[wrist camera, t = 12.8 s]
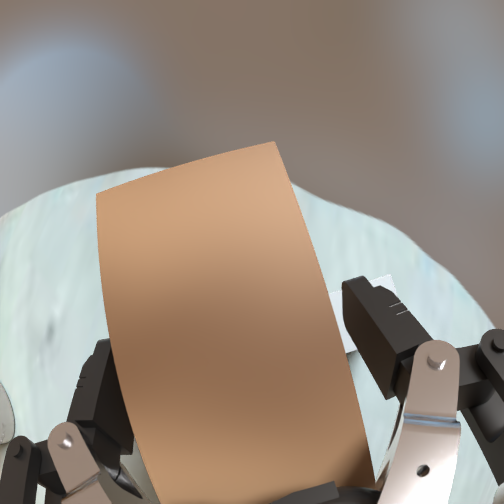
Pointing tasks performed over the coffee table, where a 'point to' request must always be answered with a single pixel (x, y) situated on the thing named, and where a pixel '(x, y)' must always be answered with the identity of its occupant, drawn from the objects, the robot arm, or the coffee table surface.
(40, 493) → the coffee table surface
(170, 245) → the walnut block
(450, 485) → the robot arm
